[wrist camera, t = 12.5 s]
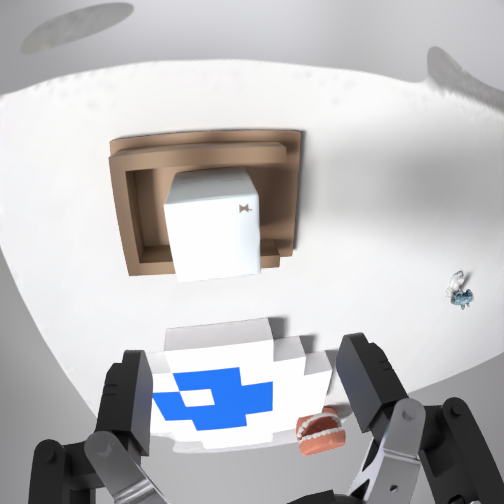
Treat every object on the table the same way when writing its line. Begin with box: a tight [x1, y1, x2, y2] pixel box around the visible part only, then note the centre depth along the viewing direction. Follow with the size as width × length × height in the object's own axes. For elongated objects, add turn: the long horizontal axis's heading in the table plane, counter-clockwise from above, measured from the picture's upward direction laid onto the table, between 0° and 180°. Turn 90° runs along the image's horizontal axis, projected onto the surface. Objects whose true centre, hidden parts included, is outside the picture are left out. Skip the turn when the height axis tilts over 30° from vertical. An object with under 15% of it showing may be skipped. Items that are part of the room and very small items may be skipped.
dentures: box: [296, 407, 346, 455], centre depth 47 cm, size 9×7×8 cm
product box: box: [164, 167, 261, 282], centre depth 23 cm, size 6×6×7 cm
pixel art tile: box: [145, 318, 332, 449], centre depth 40 cm, size 28×4×28 cm
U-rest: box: [109, 130, 301, 276], centre depth 25 cm, size 16×12×4 cm
